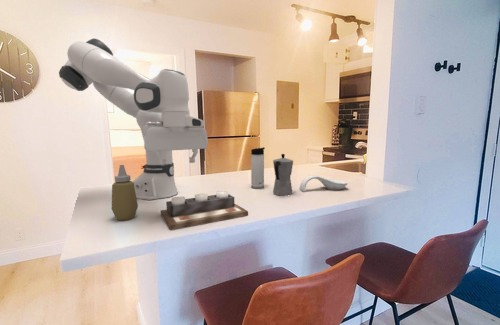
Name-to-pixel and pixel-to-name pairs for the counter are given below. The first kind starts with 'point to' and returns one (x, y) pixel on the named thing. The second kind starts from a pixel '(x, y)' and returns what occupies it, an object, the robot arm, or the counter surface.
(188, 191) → the counter surface
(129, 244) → the counter surface
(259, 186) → the travel mug
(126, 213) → the squeeze bottle
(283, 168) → the coffeepot
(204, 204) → the button board
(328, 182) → the spoon rest
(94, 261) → the counter surface
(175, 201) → the button left
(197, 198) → the button middle
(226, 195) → the button right
